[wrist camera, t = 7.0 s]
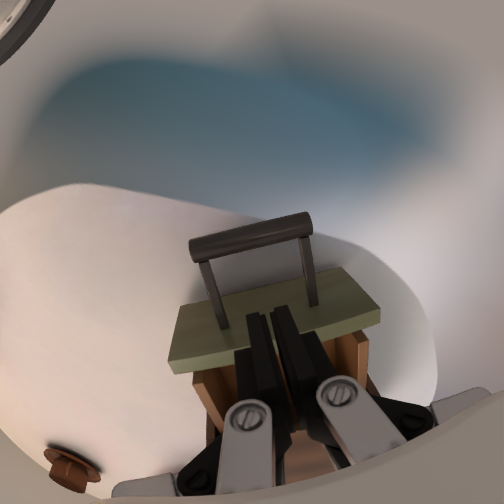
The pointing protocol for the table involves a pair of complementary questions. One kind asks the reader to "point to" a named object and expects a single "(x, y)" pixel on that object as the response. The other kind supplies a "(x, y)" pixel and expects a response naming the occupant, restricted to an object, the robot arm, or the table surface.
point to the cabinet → (299, 450)
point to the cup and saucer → (70, 470)
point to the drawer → (267, 314)
